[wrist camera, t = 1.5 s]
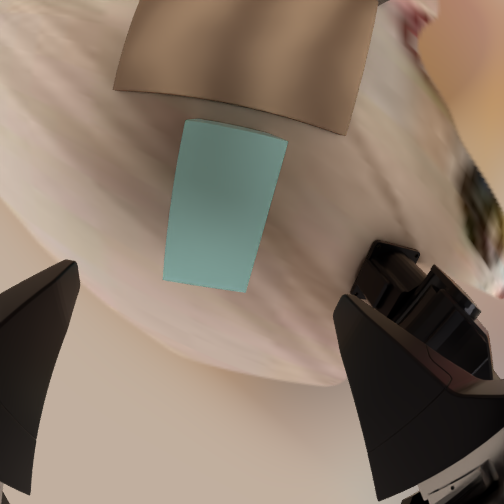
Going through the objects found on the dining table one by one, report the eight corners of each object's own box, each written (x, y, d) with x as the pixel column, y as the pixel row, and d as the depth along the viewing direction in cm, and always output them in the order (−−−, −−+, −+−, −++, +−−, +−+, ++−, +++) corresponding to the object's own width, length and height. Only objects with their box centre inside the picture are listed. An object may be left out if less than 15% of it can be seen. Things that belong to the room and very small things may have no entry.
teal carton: (268, 132, 18) (292, 142, 12) (240, 241, 22) (248, 293, 16) (198, 118, 17) (185, 119, 11) (178, 230, 21) (162, 280, 15)
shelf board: (371, 5, 13) (378, 1, 12) (339, 134, 19) (345, 136, 18) (166, -44, 9) (164, -51, 8) (118, 90, 15) (112, 89, 14)
